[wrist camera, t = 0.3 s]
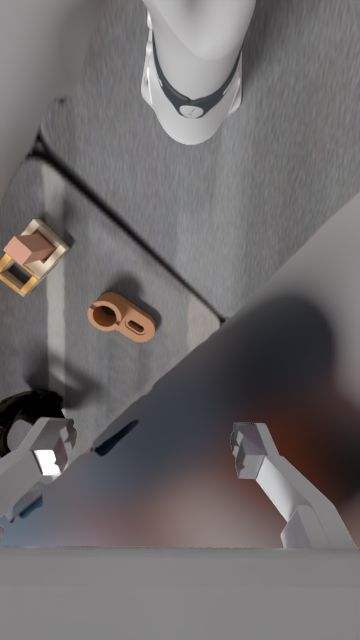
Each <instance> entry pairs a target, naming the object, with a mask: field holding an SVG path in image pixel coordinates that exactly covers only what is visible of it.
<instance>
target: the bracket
mask: <svg viewBox="0 0 360 640" xmlns="http://www.w3.org/2000/svg"><path fill="white" fill-rule="evenodd" d="M102 306H108V307H110V308H111V309H113V310H114V312H115V313H116V316H110V315H108V314H106V313H105V312H104V311H103V309H102ZM88 318H89V321H90V322H91V324H92V325H93V326H94V327H96V328H97V329H99V330H102V331H112V330H114V329H116V330H117V331H119V332H121V333H122V334H124V335H125V336H127V337H129V338H130V339H132V340H134V341H136V342H146V341H148V340H150V339H151V338H152V337H153V335H154V333H155V328H156V324H155V321H154V319H153V318H152V317H151V316H150V315H148V314H147V313H146V312H144V311H143V310H141V309H140V308H138V307H137V306H135V305H134V304H132V303H131V302H129V301H128V300H126V299H125V298H123V297H122V296H120V295H119V294H117V293H113V292H107V293H104V294H102V295H101V296H100V297H99V298H98V299H97V300H96V301H95V302H94V303H93V304H92V305H91V306H90V307H89V309H88ZM130 320H133V321H135V322H136V323H138V324H139V325H141V326H142V327H143V329H141V328H139V327H137V326H136V325H134V324H132V323H131V322H130Z"/></svg>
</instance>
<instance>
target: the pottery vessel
mask: <svg viewBox="0 0 360 640" xmlns="http://www.w3.org/2000/svg"><path fill="white" fill-rule="evenodd" d="M62 404H63V398H62V397H61V396H58V394H56V393H55V392H45V391H39V390H35V391H27V392H22V393H19V394H16V395H13V396H11V397H8V398H6V399H4V400H2V401H1V402H0V457H1V458H3V457H4V456H6V455H7V454H8V453H10V452H11V451H10V449H9V448H8V445H7V436H8V433H9V431H10V429H11V427H12V425H13V424H14V423H15V422H16V421H17V420H19V419H22V420H24V421H26V422H28V423H29V424H31V425H33V426H34V424H35V423H36V421H37V420H38V419H40V418H41V417H46V418H65V417H64V415H63V413H62V411H61V409H62V408H63V406H62Z"/></svg>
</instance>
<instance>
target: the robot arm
mask: <svg viewBox="0 0 360 640" xmlns="http://www.w3.org/2000/svg"><path fill="white" fill-rule="evenodd" d="M142 1H143V3H144V4H145V6H146V8H147V9H148V28H149V29H150V31H149V38H148V41H147V47H146V58H145V65H144V72H143V79H142V86H141V92H142V96H143V98H144V99H145V101H146V102H147V103H148V104H149V105H150V106H151V107H152V108H153V109H154V111H155V113H156V115H157V117H158V119H159V121H160V123H161V125H162V127H163V128H164V130H165V131H166V132H167V133H168V134H169V136H171V137H172V138H173V139H174V140H176V141H178V142H180V143H183V144H188V145H193V144H199V143H201V142H204V141H206V140H207V139H208V138H210V137H211V136H212V135H213V134H214V133H215V132H216V131H217V130H218V128H219V127H220V125H221V124H222V123H223V121H224V120H225V119H226V118H227V117H228V116H229V115H231V114H232V113H234V112H235V111H236V110H237V109H238V108H239V106H240V103H241V81H242V43H243V40H244V38H245V35H246V32H247V29H248V27H249V24H250V21H251V18H252V15H253V12H254V8H255V4H256V0H142ZM147 81H148V84H147ZM236 94H237V95H236ZM73 425H74V420H73V419H67V418H46V417H41V418H40V419H38V420H37V421H36V423H35V424H34V426H33V427H32V429H31V430H30V431H29V433H28V434H27V436H26V437H25V438H24V440H23V441H22V443H21V444H20V446H19V447H18V448H17V450H13V451H11V452H10V453H8V454H7V455H6V456H4V457H3V458H1V459H0V518H1V517H2V516H3V515H4V514H5V513H6V512H7V511H8V510H9V509H10V508H11V507H12V506H13V505H14V504H15V503H16V502H17V501H18V500H19V499H20V498H21V497H22V496H23V495H24V494H25V493H26V492H27V491H28V490H29V489H30V488H31V487H32V486H33V485H34V484H35V483H36V482H37V481H38V480H39V479H40V478H41V477H42V475H61V474H62V472H63V470H64V468H65V465H66V463H67V461H68V456H67V454H68V453H70V452H71V451H72V450H73V448H74V446H75V443H76V439H77V431H76V429H75V428H74V427H73ZM233 429H234V432H233V433H232V435H231V448H232V452H233V454H234V456H235V457H236V461H235V466H236V470H237V474H238V478H246V479H256V481H257V482H258V483H259V485H260V486H261V487H262V488H263V490H264V491H265V493H266V494H267V495H268V497H269V498H270V499H271V501H272V502H273V503H274V505H275V506H276V507H277V509H278V510H279V512H280V513H281V514H282V515H283V517H284V518H285V520H286V521H287V522H288V523H287V525H286V526H285V528H284V530H283V531H282V533H281V539H282V542H283V546H284V548H211V547H210V548H209V547H207V548H206V547H204V548H203V547H105V546H0V640H360V549H357V547H356V545H355V543H354V542H353V540H352V538H351V536H350V534H349V532H348V531H347V529H346V527H345V525H344V523H343V521H342V519H341V518H340V516H339V514H338V512H337V510H336V508H335V507H334V505H333V504H332V503H331V502H330V501H329V500H328V499H327V498H326V497H325V496H324V495H323V494H322V493H321V492H319V490H317V489H316V488H315V487H314V486H313V485H312V484H311V483H310V482H309V481H308V480H307V479H306V478H305V477H304V476H303V475H302V474H300V472H298V471H297V470H296V469H295V468H294V467H293V466H292V465H291V464H290V463H289V462H288V461H287V460H286V459H285V458H284V457H283V456H279V454H278V451H277V449H276V447H275V444H274V442H273V440H272V437H271V435H270V433H269V431H268V428H267V426H266V425H265V424H264V423H235V424H234V426H233ZM3 534H4V528H3V527H2V526H1V524H0V540H1V538H2V536H3Z"/></svg>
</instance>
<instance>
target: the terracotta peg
mask: <svg viewBox="0 0 360 640" xmlns="http://www.w3.org/2000/svg"><path fill="white" fill-rule="evenodd" d="M56 249H57V247H56V246H55V245H53V244H52V243H51V242H50V241H49V240H48V239H47V238H46V237H45V236H44V235H43V234H42V233H40V234H30V235H20V236H14V237H13V238H12V240H11V241H10V242H9V243H8V245H7V246H6V247H5V248H4V251H5V252H6V253H7V254H9V255H10V256H11V257H12V258H13V259H14V260H16V261H17V262H18V263H19V264H20V265H25V264H28V263H32V262H35V261H38V260H42V259H45V258H49V257H50V255H51V254H52V253H53V252H54V251H55V250H56Z"/></svg>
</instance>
